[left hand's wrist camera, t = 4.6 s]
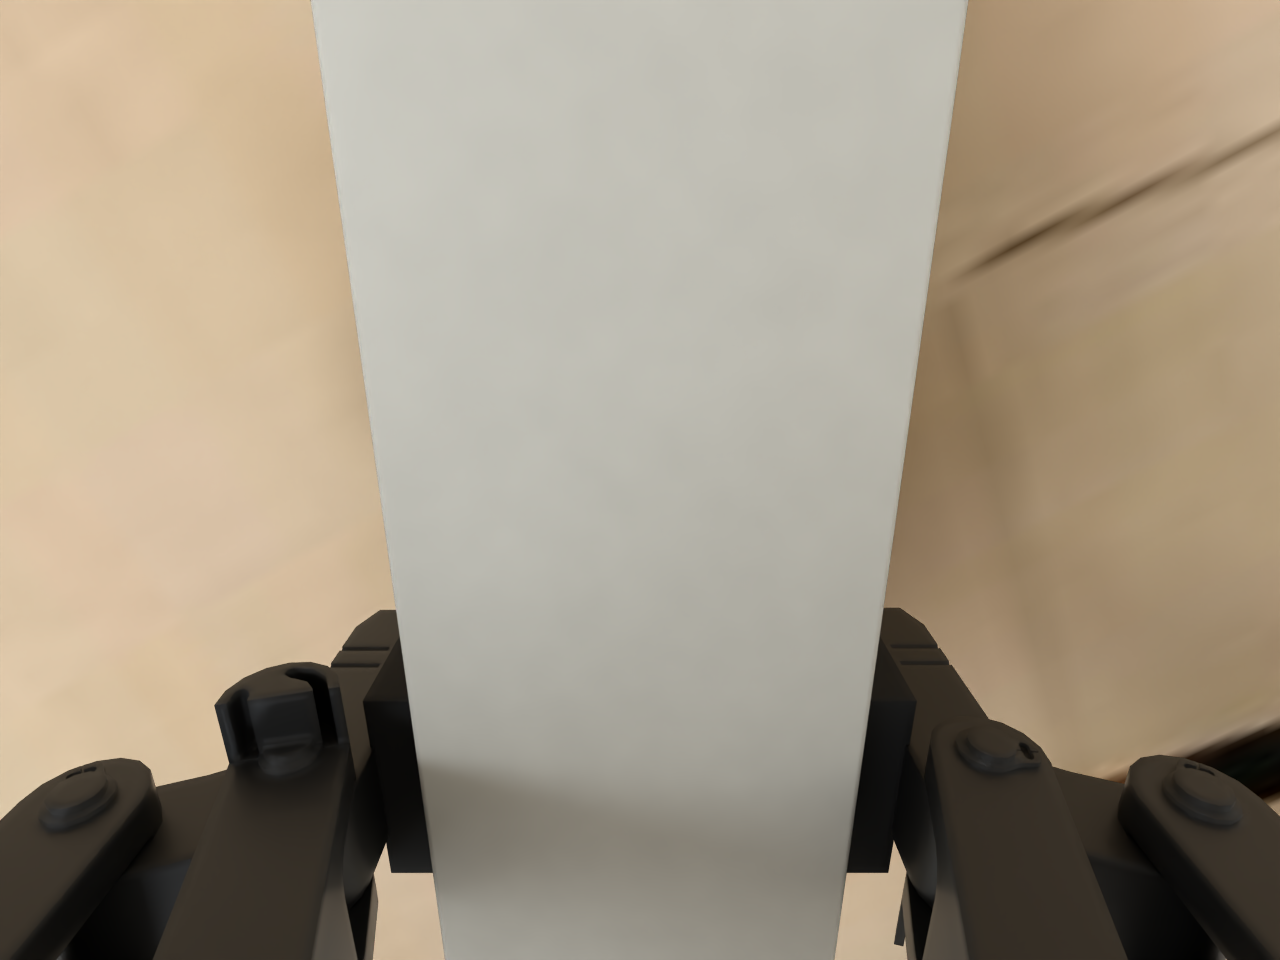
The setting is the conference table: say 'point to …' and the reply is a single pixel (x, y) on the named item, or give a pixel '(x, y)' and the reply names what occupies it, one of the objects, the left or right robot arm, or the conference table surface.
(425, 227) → the plank
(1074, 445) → the conference table surface
